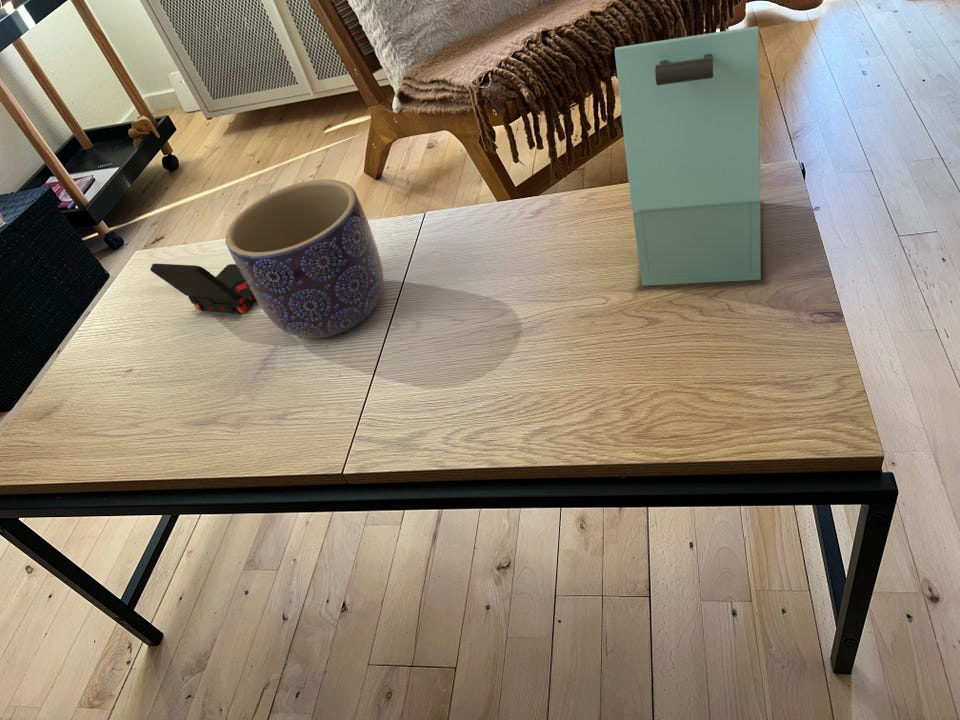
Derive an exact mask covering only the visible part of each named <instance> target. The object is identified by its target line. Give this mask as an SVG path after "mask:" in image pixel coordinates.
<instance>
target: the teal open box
mask: <svg viewBox="0 0 960 720" xmlns="http://www.w3.org/2000/svg"><path fill="white" fill-rule="evenodd" d="M632 219H633V226H634V234H635V241H636V251H637V257H638V265H639V273H640V280H641V287H646V286H647V287H648V286H650V287H651V286H666V285H668V286H669V285H686V284H705V283H706V284H707V283H723V282H724V283H725V282H726V283H727V282H743V281H759V280H762V251H761V250H762V248H761V247H762V246H761V245H762V241H761V240H762V239H761V235H762V234H761V233H762V232H761V231H762V230H761V223H762V222H761V199H760V200H754V201H742V202H730V203H718V204H706V205H694V206H682V207H670V208H658V209H647V210H635V211H632Z"/></svg>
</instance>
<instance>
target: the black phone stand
mask: <svg viewBox="0 0 960 720" xmlns="http://www.w3.org/2000/svg"><path fill="white" fill-rule="evenodd" d="M149 270H150V271H151V272H152V273H153V274H154V275H156V276H157V277H158V278H160V279H162V280H163V281H165V282H166V283H168V284H169V285H170V286H172V287H174V289H175V290H177V291H179V292H180V293H182V294H183V295H184V296H187V297H188V300H189V301H190V302H191V303H190V304H193V306H194V307H195V309H196V310H200V311H201V312H209V313H210V312H212V313H223V314H224V313H225V314H233V315H234V314H236V315H240V314H241V313H242V314H243V313H246V312H247V311H248V310H250V309H251V308H252V307H253V305H255V304H256V302H257V301H256V299H255V298H254V296H253V294H252V292H251V291H250V289H249V287H248V285H247V284H246V282H245V280H244V279H243V277H242V275H241V273H240V271H239V269H238V267H237V265H236V264H234V263H230V264H227V265H226V266H224V268H222V269H221V271H220V272H219V273H218V274H217V275H216V276H215V275H214V274H212V273H211V272H209V270H207V269H206V268H204V267H202V266H200V265H194V264H193V265H192V264H174V263H171V264H170V263H154V262H153V263H152V264H151V267H150V269H149Z"/></svg>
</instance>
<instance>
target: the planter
mask: <svg viewBox="0 0 960 720" xmlns="http://www.w3.org/2000/svg"><path fill="white" fill-rule="evenodd" d="M225 245H226V247H227V249H228V252H229V254H230V256H231V258H232V260H233V261H234V263H235V264H236V265H237V267H238V269H239V271H240V273H241V275H242V277H243V279H244V280H245V282H246V284H247V285H248V287H249V289H250V291H251V292H252V294H253V296H254V298H255V299H256V302H257V304H258V306H259V307H260V308H261V310H262V311H263V312H264V314H265V315H266V317H267V318H268V320H269V321H270V322H271V323H273V324H274V325H275V326H276V327H277V328H278V329H280V330H281V331H283V332H285V333H286V334H289V335H292V336H295V337H299V338H304V339H311V340H312V339H314V340H315V339H325V338H329V337H334V336H337V335H340V334H343V333H344V332H347V331H349V330H351V329H353V328H354V327H356V326H357V325H359V324H361V322H362V321H364V319H366V318H367V317H368V316H369V315H370V314H371V313H372V311H373V310H374V309H375V307H376V305H377V304H378V302H379V300H380V299H381V298H380V297H381V295H382V292H383V288H384V283H385V276H384V267H383V264H382V263H383V262H382V259H381V256H380V253H379V248H378V246H377V243H376V240H375V237H374V234H373V232H372V229H371V226H370V223H369V220H368V219H367V215H366V213H365V211H364V208H363V206H362V203H361V201H360V198H359V196H358V195H357V192H356V190H355V189H354V188H353V186H351V185H350V184H348V183H346V182H344V181H342V180H341V181H340V180H336V179H326V178H325V179H313V180H307V181H306V180H305V181H302V182H298V183H297V182H296V183H294V184H291V185H288V186H285V187H282V188H280V189H279V188H278V189H277V190H274V191H273V192H270V193H268V194H266V195H264V196H263V197H261V198H259V199H257V200H256V201H254V202H252V203H251V204H250V205H249V206H247V207H245V209H243V210H242V211H241V212H240V213H239V214H238V215H237V216H236V217H235V218H234V219H233V220H232V222H231V224H230V225H229V227H228V229H227V231H226V233H225Z"/></svg>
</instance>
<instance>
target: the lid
mask: <svg viewBox="0 0 960 720" xmlns="http://www.w3.org/2000/svg"><path fill="white" fill-rule="evenodd" d="M614 58H615V66H616V67H615V68H616V77H617V85H618V94H619V103H620V104H619V105H620V113H621V114H620V115H621V122H622V131H623V140H624V142H623V143H624V149H625V160H626V169H627V179H628V187H629V188H628V189H629V197H630V206H631V207H630V208H631V211H632V212H633V211H635V210H647V209H658V208H670V207H682V206H694V205H706V204H718V203H730V202H742V201H754V200H760V201H761V200H762V199H761V118H760V117H761V107H760V106H761V105H760V102H761V101H760V99H761V97H760V95H761V94H760V26H758V25H755V26H749V27H742V28H736V29H729V30H723V31H716V32H710V33H709V32H708V33H703V34H697V35H689V36H684V37H683V36H682V37H676V38H669V39H664V40H656V41H649V42H643V43H637V44H631V45H623V46H617V47H616V46H615V48H614Z"/></svg>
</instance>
